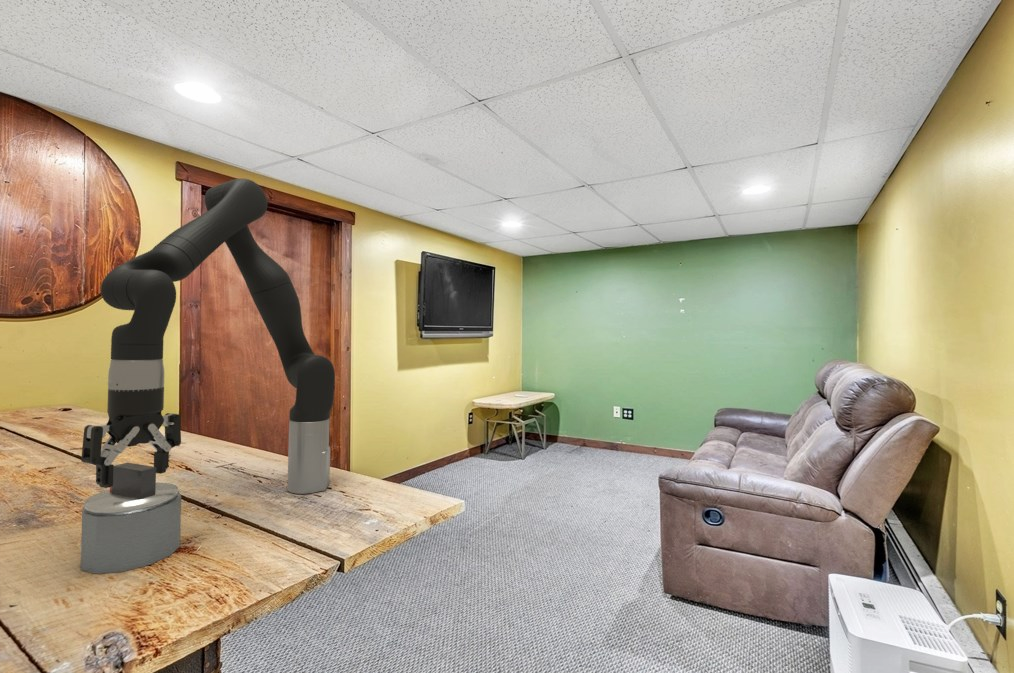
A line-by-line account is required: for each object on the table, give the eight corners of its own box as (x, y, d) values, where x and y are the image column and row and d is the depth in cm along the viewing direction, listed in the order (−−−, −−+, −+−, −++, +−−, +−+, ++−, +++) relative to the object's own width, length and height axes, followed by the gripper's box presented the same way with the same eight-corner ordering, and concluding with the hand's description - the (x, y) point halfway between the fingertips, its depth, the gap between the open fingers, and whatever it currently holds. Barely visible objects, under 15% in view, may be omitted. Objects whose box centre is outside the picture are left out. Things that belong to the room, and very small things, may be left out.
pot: (192, 534, 86) (193, 487, 86) (154, 569, 74) (156, 514, 74) (112, 539, 84) (114, 490, 84) (59, 576, 71) (61, 518, 71)
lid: (194, 494, 83) (195, 461, 83) (118, 520, 71) (119, 481, 71) (146, 485, 87) (146, 454, 86) (65, 508, 75) (66, 472, 75)
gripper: (104, 391, 71) (101, 496, 71) (192, 383, 84) (190, 470, 84) (72, 388, 73) (69, 489, 73) (163, 380, 87) (161, 466, 87)
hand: (134, 479), depth 79 cm, fingers open, 8 cm apart
